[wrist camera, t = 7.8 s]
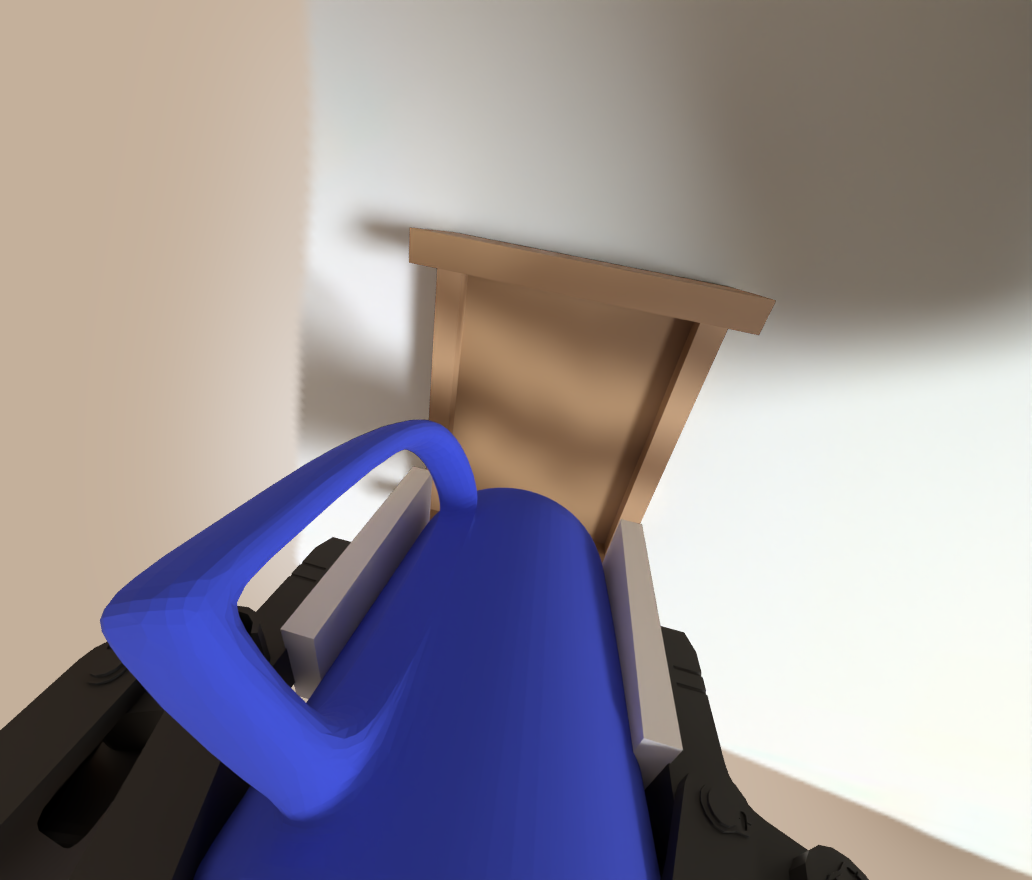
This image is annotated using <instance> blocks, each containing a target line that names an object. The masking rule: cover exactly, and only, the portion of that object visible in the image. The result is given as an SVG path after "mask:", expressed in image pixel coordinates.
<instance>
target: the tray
mask: <svg viewBox="0 0 1032 880" xmlns="http://www.w3.org/2000/svg"><path fill="white" fill-rule="evenodd" d="M409 263H414V264H419V265H424V266H428V267H433V268H437V282H436V300H435V318H434V336H433V354H432V372H431V390H430V408H429V420H430V421H433V422H436V423H439V424H441V425H442V426H444V427H445V428H447V429H448V430H449V431H450V432H451V433H452V434H453V436H454V437H455V438H456V439H457V440H458V442H459V443H460V445H461V446H462V448H463V450H464V452H465V454H466V456H467V458H468V461H469V464H470V466H471V469H472V472H473V475H474V479H475V483H476V488H477V491H478V490H483V489H488V488H516V489H523V490H527V491H531V492H535V493H538V494H541V495H543V496H545V497H548V498H550V499H552V500H553V501H555V502H557V503H559V504H560V505H562V506H563V507H565V508H566V509H567V510H568V511H570V512H571V513H572V514H573V515H574V516H575V517H576V518H577V519H578V520H579V521H580V522H581V523H582V524H583V526H584V527H585V528H586V530H587V531H588V533H589V534H590V536H591V537H592V539H593V541H594V543H595V545H596V548H597V550H598V553H599V556H600V558H601V562H602V563H603V561H604V558H605V556H606V553H607V551H608V548H609V546H610V544H611V541H612V539H613V536H614V534H615V531H616V529H617V527H618V524H619V522H620V519H623V520H627V521H631V522H635V523H639V524H640V523H641V520H642V518H643V516H644V514H645V512H646V509H647V507H648V505H649V503H650V501H651V498H652V496H653V494H654V492H655V489H656V487H657V485H658V483H659V481H660V478H661V476H662V474H663V472H664V470H665V467H666V465H667V463H668V461H669V458H670V456H671V454H672V452H673V450H674V447H675V445H676V443H677V441H678V439H679V436H680V434H681V432H682V430H683V427H684V425H685V423H686V421H687V419H688V416H689V414H690V412H691V410H692V408H693V405H694V403H695V401H696V399H697V396H698V394H699V392H700V390H701V388H702V385H703V383H704V381H705V379H706V376H707V374H708V372H709V370H710V368H711V365H712V363H713V361H714V359H715V357H716V354H717V352H718V350H719V348H720V345H721V343H722V341H723V339H724V337H725V334H726V332H727V330H728V329H732V330H737V331H741V332H746V333H751V334H756V335H759V334H760V332H761V330H762V328H763V326H764V324H765V322H766V320H767V318H768V316H769V314H770V312H771V310H772V308H773V306H774V304H775V302H776V300H773V299H770V298H766V297H763V296H759V295H756V294H752V293H749V292H746V291H742V290H739V289H735V288H732V287H728V286H723V285H718V284H713V283H708V282H703V281H698V280H693V279H688V278H683V277H678V276H673V275H668V274H663V273H657V272H652V271H647V270H642V269H637V268H632V267H627V266H622V265H617V264H612V263H607V262H602V261H597V260H592V259H587V258H582V257H577V256H572V255H567V254H562V253H557V252H551V251H546V250H541V249H536V248H531V247H526V246H521V245H516V244H511V243H506V242H501V241H496V240H491V239H486V238H481V237H476V236H471V235H466V234H461V233H456V232H447V231H438V230H429V229H419V228H410V239H409ZM426 470H428V469H427V467H426ZM439 511H440V502H439V496H438V492H437V489H436V486H435V483H434V481H433V478H432V491H431V505H430V520H431V519H432V518H433V517H434V516H435V515H436V514H437V513H438V512H439ZM430 520H429V521H430Z"/></svg>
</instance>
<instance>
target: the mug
mask: <svg viewBox="0 0 1032 880" xmlns="http://www.w3.org/2000/svg"><path fill="white" fill-rule="evenodd" d="M404 449H406V450H409V451H411V452H413V453H415V454H416V455H417V456H418V457H419V458H420V459H421V460H422V461H423V462H424V464H425V465H426V467H427V469H428V470H429V472H430V474H431V476H432V478H433V481H434V483H435V486H436V489H437V492H438V496H439V502H440V511H439V512H438V513H437V514H436V515H435V516H434V517H433V518H432V519H431V520H430V521H429V522H428V524H427V525H426V526H425V528H424V529H423V530H422V532H421V533H420V535H419V536H418V538H417V539H416V541H415V542H414V544H413V545H412V546H411V548H410V549H409V551H408V552H407V554H406V555H405V557H404V558H403V560H402V561H401V563H400V564H399V566H398V567H397V569H396V570H395V572H394V573H393V575H392V576H391V578H390V579H389V581H388V582H387V584H386V585H385V587H384V588H383V590H382V591H381V593H380V594H379V596H378V597H377V599H376V600H375V601H374V603H373V604H372V606H371V607H370V609H369V610H368V612H367V613H366V615H365V616H364V618H363V619H362V621H361V622H360V624H359V625H358V627H357V628H356V630H355V631H354V633H353V634H352V636H351V637H350V639H349V640H348V642H347V643H346V645H345V646H344V648H343V649H342V651H341V652H340V654H339V655H338V657H337V658H336V659H335V661H334V662H333V664H332V665H331V667H330V668H329V670H328V671H327V673H326V674H325V676H324V677H323V679H322V680H321V682H320V683H319V685H318V686H317V688H316V689H315V691H314V692H313V694H312V695H311V697H310V698H309V700H308V701H307V703H305V701H304V700H303V699H301V698H300V696H299V695H298V694H297V693H296V692H294V691H293V690H292V689H291V688H290V687H289V686H288V685H287V684H286V682H285V681H284V680H283V679H282V678H281V676H280V675H279V674H278V673H277V672H276V670H275V669H274V668H273V667H272V666H271V664H270V663H269V662H268V661H267V660H266V658H265V657H264V656H263V654H262V653H261V651H260V650H259V648H258V647H257V646H256V644H255V643H254V641H253V640H252V638H251V637H250V635H249V634H248V632H247V631H246V629H245V627H244V625H243V623H242V621H241V619H240V617H239V613H238V608H237V601H238V599H239V597H240V595H241V593H242V591H243V589H244V587H245V586H246V584H247V583H248V582H249V581H250V579H251V578H252V577H253V576H254V575H255V574H256V573H257V572H258V571H259V570H260V569H261V568H262V567H263V566H264V565H265V564H266V563H267V562H268V561H269V560H270V559H271V558H272V557H273V556H274V555H275V554H276V553H277V552H278V551H280V550H281V549H282V548H283V547H284V546H285V545H286V544H287V543H288V542H290V541H291V540H292V539H293V538H294V537H295V536H296V535H297V534H298V533H300V532H301V531H302V530H303V529H304V528H305V527H306V526H307V525H308V524H310V523H311V522H312V521H313V520H314V519H315V518H316V517H317V516H318V515H320V514H321V513H322V512H323V511H324V510H325V509H326V508H327V507H328V506H330V505H331V504H332V503H333V502H334V501H335V500H336V499H337V498H339V497H340V496H341V495H342V494H343V493H345V492H346V491H347V490H348V489H349V488H351V487H352V486H353V485H354V484H355V483H357V482H358V481H359V480H360V479H361V478H363V477H364V476H365V475H366V474H367V473H369V472H370V471H371V470H372V469H374V468H375V467H377V466H378V465H379V464H381V463H382V462H384V461H385V460H387V459H388V458H389V457H391V456H392V455H394V454H395V453H397V452H399V451H401V450H404ZM100 623H101V629H102V632H103V634H104V636H105V638H106V640H107V642H108V643H109V645H110V647H111V648H112V649H113V651H114V652H115V654H116V655H117V656H118V658H119V659H120V661H121V662H122V663H123V664H124V665H125V667H126V668H127V669H128V670H129V671H130V672H131V673H132V674H133V676H134V677H135V678H136V679H137V680H138V681H139V682H140V683H141V685H142V686H143V687H144V688H145V689H146V690H147V691H148V692H149V694H150V695H151V696H152V697H153V698H154V699H155V700H156V701H157V703H158V704H159V705H160V706H161V707H162V708H163V709H164V710H165V711H166V712H167V713H168V714H169V715H171V716H172V717H173V718H174V719H175V720H176V721H177V722H178V723H179V724H180V725H181V726H182V727H183V728H184V729H185V730H187V731H188V732H189V733H190V734H191V735H192V736H193V737H194V738H195V739H196V740H197V741H198V742H199V743H200V744H202V745H203V746H204V747H205V748H206V749H207V750H208V751H209V752H210V753H211V754H213V755H214V756H215V757H216V758H217V759H219V760H220V761H221V762H222V763H224V764H225V765H226V766H227V767H228V768H230V769H231V770H232V771H233V772H234V773H236V774H237V775H238V776H239V777H240V778H242V779H243V780H244V781H246V782H247V783H248V784H250V785H251V786H250V787H249V789H248V790H247V792H246V793H245V795H244V796H243V798H242V799H241V801H240V802H239V804H238V805H237V807H236V808H235V810H234V811H233V813H232V814H231V816H230V817H229V819H228V820H227V822H226V823H225V824H224V826H223V827H222V829H221V830H220V832H219V834H218V835H217V837H216V838H215V840H214V841H213V843H212V844H211V846H210V848H209V849H208V851H207V853H206V854H205V856H204V858H203V859H202V861H201V863H200V865H199V867H198V868H197V870H196V873H195V876H194V878H193V880H661V877H660V871H659V866H658V860H657V855H656V850H655V844H654V839H653V833H652V828H651V823H650V817H649V812H648V806H647V801H646V796H645V790H644V785H643V779H642V774H641V769H640V766H639V763H638V761H637V758H636V756H635V754H634V753H633V747H632V740H631V733H630V726H629V719H628V712H627V706H626V699H625V692H624V686H623V679H622V672H621V666H620V659H619V653H618V647H617V641H616V635H615V629H614V624H613V618H612V612H611V607H610V601H609V596H608V591H607V585H606V580H605V575H604V570H603V566H602V562H601V558H600V556H599V553H598V550H597V548H596V545H595V543H594V541H593V539H592V537H591V536H590V534H589V533H588V531H587V530H586V528H585V527H584V526H583V524H582V523H581V522H580V521H579V520H578V519H577V518H576V517H575V516H574V515H573V514H572V513H571V512H570V511H568V510H567V509H566V508H565V507H563V506H562V505H560V504H559V503H557V502H555V501H553V500H552V499H550V498H548V497H545V496H543V495H541V494H538V493H535V492H531V491H527V490H523V489H516V488H488V489H483V490H478V491H477V488H476V483H475V479H474V475H473V472H472V469H471V466H470V464H469V461H468V458H467V456H466V454H465V452H464V450H463V448H462V446H461V445H460V443H459V442H458V440H457V439H456V438H455V437H454V436H453V434H452V433H451V432H450V431H449V430H448V429H447V428H445V427H444V426H442V425H441V424H439V423H436V422H433V421H430V420H408V421H404V422H399V423H395V424H391V425H387V426H383V427H380V428H378V429H375V430H373V431H371V432H368V433H366V434H363V435H361V436H358V437H356V438H354V439H352V440H350V441H348V442H346V443H344V444H342V445H340V446H338V447H336V448H334V449H332V450H330V451H328V452H326V453H324V454H323V455H321V456H319V457H317V458H316V459H314V460H312V461H310V462H309V463H307V464H305V465H304V466H302V467H300V468H299V469H297V470H296V471H294V472H292V473H291V474H289V475H288V476H286V477H284V478H283V479H281V480H280V481H278V482H277V483H275V484H273V485H272V486H270V487H269V488H267V489H266V490H264V491H262V492H261V493H259V494H258V495H256V496H255V497H253V498H252V499H250V500H249V501H247V502H246V503H244V504H243V505H241V506H240V507H238V508H237V509H235V510H234V511H232V512H230V513H229V514H227V515H226V516H224V517H223V518H221V519H220V520H219V521H217V522H215V523H214V524H212V525H211V526H209V527H208V528H206V529H205V530H203V531H202V532H200V533H199V534H197V535H195V536H194V537H193V538H191V539H189V540H188V541H186V542H185V543H183V544H182V545H180V546H179V547H177V548H176V549H174V550H173V551H171V552H170V553H168V554H167V555H165V556H164V557H162V558H161V559H159V560H158V561H157V562H155V563H154V564H153V565H151V566H150V567H149V568H147V569H146V570H145V571H143V572H142V573H141V574H139V575H138V576H137V577H135V578H134V579H133V580H132V581H130V582H129V583H128V584H127V585H126V586H124V587H123V588H122V589H121V590H120V591H119V592H118V593H117V594H116V595H115V596H114V598H113V599H112V600H111V601H110V603H109V604H108V605H107V606H106V608H105V609H104V611H103V614H102V617H101V619H100Z"/></svg>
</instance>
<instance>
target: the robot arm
mask: <svg viewBox="0 0 1032 880" xmlns="http://www.w3.org/2000/svg"><path fill="white" fill-rule="evenodd" d="M431 491H432V476H431V474H430V472H429V470H426V469H422V468H418V467H414V466H413V467H412V469H411V470H410V471H409V472H408V473H407V475H406V476H405V477H404V478H403V480H402V481H401V482H400V483H399V484H398V486H397V487H396V488H395V489H394V491H393V492H392V493H391V494H390V495H389V497H388V498H387V499H386V500H385V502H384V503H383V504H382V505H381V506H380V508H379V509H378V510H377V511H376V513H375V514H374V515H373V516H372V518H371V519H370V520H369V521H368V522H367V524H366V525H365V526H364V527H363V529H362V530H361V531H360V532H359V533H358V535H357V536H356V537H355V538H354V540H353V541H352V542H349V541H345V540H342V539H338V538H335V537H332V538H331V539H329V540H327V541H326V542H324V543H322V544H321V545H319V546H317V547H316V548H315V549H314V550H313V551H312V552H311V553H310V554H309V555H308V556H307V557H306V558H305V559H304V561H303V562H302V564H301V565H299V566H298V567H297V568H296V569H295V570H294V571H293V573H292V575H291V576H289V577H288V578H287V579H286V580H285V581H284V582H283V583H282V584H281V585H280V587H279V588H278V589H277V590H276V591H275V592H274V593H273V594H272V595H271V596H270V597H269V598H268V600H267V601H266V602H265V603H264V604H263V605H262V606H261V607H260V608H259V609H258V610H257V611H256V612H255V611H253V610H252V609H250V608H249V607H242V606H237V608H238V613H239V617H240V619H241V621H242V623H243V625H244V627H245V629H246V631H247V632H248V634H249V635H250V637H251V638H252V640H253V641H254V643H255V644H256V646H257V647H258V648H259V650H260V651H261V653H262V654H263V656H264V657H265V658H266V660H267V661H268V662H269V663H270V664H271V666H272V667H273V668H274V669H275V670H276V672H277V673H278V674H279V675H280V676H281V678H282V679H283V680H284V681H285V682H286V684H287V685H288V686H289V687H290V688H291V687H292V686H293V685H294V686H295V690H296V693H297V694H298V695H299V696H301V697H304V698H307V699H309V698H310V697H311V695H312V694H313V692H314V691H315V689H316V688H317V686H318V685H319V683H320V682H321V680H322V679H323V677H324V676H325V674H326V673H327V671H328V670H329V668H330V667H331V665H332V664H333V662H334V661H335V659H336V658H337V657H338V655H339V654H340V652H341V651H342V649H343V648H344V646H345V645H346V643H347V642H348V640H349V639H350V637H351V636H352V634H353V633H354V631H355V630H356V628H357V627H358V625H359V624H360V622H361V621H362V619H363V618H364V616H365V615H366V613H367V612H368V610H369V609H370V607H371V606H372V604H373V603H374V601H375V600H376V599H377V597H378V596H379V594H380V593H381V591H382V590H383V588H384V587H385V585H386V584H387V582H388V581H389V579H390V578H391V576H392V575H393V573H394V572H395V570H396V569H397V567H398V566H399V564H400V563H401V561H402V560H403V558H404V557H405V555H406V554H407V552H408V551H409V549H410V548H411V546H412V545H413V544H414V542H415V541H416V539H417V538H418V536H419V535H420V533H421V532H422V530H423V529H424V528H425V526H426V525H427V524H428V522H429V520H430V505H431ZM602 566H603V570H604V575H605V580H606V585H607V591H608V596H609V601H610V607H611V612H612V618H613V624H614V629H615V635H616V641H617V647H618V653H619V659H620V666H621V672H622V679H623V686H624V692H625V699H626V706H627V712H628V719H629V726H630V733H631V740H632V747H633V753H634V754H635V756H636V758H637V761H638V763H639V766H640V769H641V774H642V779H643V785H644V790H645V796H646V801H647V806H648V812H649V817H650V823H651V828H652V833H653V839H654V844H655V850H656V855H657V860H658V866H659V871H660V877H661V880H869V879H868V878H867V877H866V875H865V874H864V873H863V872H862V871H861V870H860V869H859V868H858V867H857V866H856V865H855V864H854V863H853V862H852V861H851V860H850V859H849V858H847V857H846V856H844V855H843V854H841V853H840V852H838V851H837V850H835V849H833V848H831V847H826V846H821V845H818V846H816V847H814V848H812V849H810V850H807V849H806V848H804V847H803V846H801V845H800V844H798V843H797V842H795V841H794V840H793V839H791V838H790V837H788V836H787V835H785V834H784V833H783V832H781V831H780V830H778V829H777V828H775V827H774V826H772V825H771V824H769V823H768V822H767V821H765V820H764V819H763V818H762V817H761V816H759V815H758V814H757V813H756V812H755V811H754V810H753V809H752V808H751V807H750V806H749V805H748V803H747V801H746V799H745V798H744V796H743V795H742V794H741V792H740V791H739V789H738V788H737V787H736V785H735V784H734V783H733V782H732V780H731V778H730V776H729V774H728V771H727V768H726V765H725V762H724V759H723V755H722V751H721V747H720V743H719V739H718V735H717V731H716V727H715V724H714V720H713V716H712V712H711V708H710V704H709V700H708V696H707V695H706V689H705V685H704V681H703V677H701V669H700V665H699V661H698V658H697V654H696V651H695V650H694V648H693V646H692V645H691V643H690V641H689V640H688V638H687V636H686V635H685V633H684V632H680V631H677V630H673V629H670V628H666V627H662V626H660V621H659V615H658V610H657V604H656V599H655V593H654V587H653V582H652V576H651V571H650V565H649V560H648V554H647V549H646V543H645V538H644V532H643V527H642V524H639V523H635V522H631V521H627V520H623V519H620V522H619V524H618V527H617V529H616V531H615V534H614V536H613V539H612V541H611V544H610V546H609V548H608V551H607V553H606V556H605V558H604V561H603V563H602ZM250 786H251V785H250V784H248V783H247V782H246V781H244V780H243V779H242V778H240V777H239V776H238V775H237V774H236V773H234V772H233V771H232V770H231V769H230V768H228V767H227V766H226V765H225V764H224V763H222V762H221V761H220V760H219V759H217V758H216V757H215V756H214V755H213V754H211V753H210V752H209V751H208V750H207V749H206V748H205V747H204V746H203V745H202V744H200V743H199V742H198V741H197V740H196V739H195V738H194V737H193V736H192V735H191V734H190V733H189V732H188V731H187V730H185V729H184V728H183V727H182V726H181V725H180V724H179V723H178V722H177V721H176V720H175V719H174V718H173V717H172V716H171V715H169V714H168V713H167V712H166V711H165V710H164V709H163V708H162V707H161V706H160V705H159V704H158V703H157V701H156V700H155V699H154V698H153V697H152V696H151V695H150V694H149V692H148V691H147V690H146V689H145V688H144V687H143V686H142V685H141V683H140V682H139V681H138V680H137V679H136V678H135V677H134V676H133V674H132V673H131V672H130V671H129V670H128V669H127V668H126V667H125V665H124V664H123V663H122V662H121V661H120V659H119V658H118V656H117V655H116V654H115V652H114V651H113V649H112V648H111V647H110V645H109V643H108V642H106V643H104V644H102V645H100V646H98V647H96V648H94V649H93V650H91V651H90V652H88V653H87V654H86V655H85V656H83V657H82V658H80V659H79V660H78V661H77V662H76V663H75V664H73V665H72V666H71V667H70V668H69V669H68V670H67V671H66V672H65V673H63V674H62V675H61V676H60V677H59V678H58V679H57V680H56V681H55V682H54V683H52V684H51V685H50V686H49V687H48V688H47V689H46V690H45V691H43V692H42V693H41V694H40V695H39V696H38V697H37V698H36V699H35V700H34V701H33V702H31V703H30V704H29V705H28V706H27V707H26V708H25V709H24V710H22V711H21V712H20V713H19V714H18V715H17V716H16V717H15V718H14V719H13V720H11V721H10V722H9V723H8V724H7V725H6V726H5V727H4V728H2V729H1V730H0V880H193V878H194V876H195V873H196V870H197V868H198V867H199V865H200V863H201V861H202V859H203V858H204V856H205V854H206V853H207V851H208V849H209V848H210V846H211V844H212V843H213V841H214V840H215V838H216V837H217V835H218V834H219V832H220V830H221V829H222V827H223V826H224V824H225V823H226V822H227V820H228V819H229V817H230V816H231V814H232V813H233V811H234V810H235V808H236V807H237V805H238V804H239V802H240V801H241V799H242V798H243V796H244V795H245V793H246V792H247V790H248V789H249V787H250Z"/></svg>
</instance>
